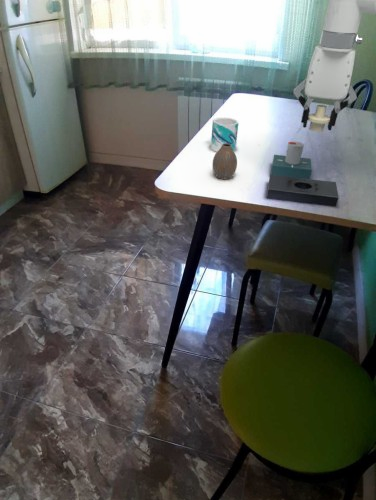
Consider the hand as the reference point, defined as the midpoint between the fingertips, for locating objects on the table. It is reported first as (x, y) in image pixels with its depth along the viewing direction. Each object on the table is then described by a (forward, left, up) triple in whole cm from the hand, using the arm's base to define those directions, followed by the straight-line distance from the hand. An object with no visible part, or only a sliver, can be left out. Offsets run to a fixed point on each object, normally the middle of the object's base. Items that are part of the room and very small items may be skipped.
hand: (316, 126), depth 105 cm
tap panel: (+4, -9, -16) cm, 19 cm away
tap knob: (+4, -9, -13) cm, 16 cm away
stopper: (0, 0, -1) cm, 1 cm away
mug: (+26, -25, -16) cm, 39 cm away
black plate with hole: (+1, +6, -16) cm, 17 cm away
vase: (+23, 0, -16) cm, 28 cm away
